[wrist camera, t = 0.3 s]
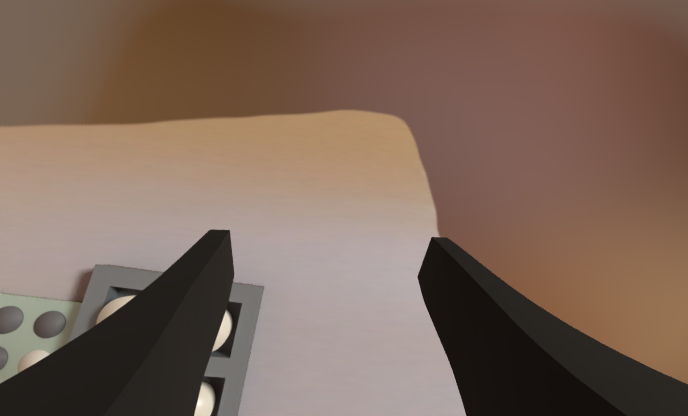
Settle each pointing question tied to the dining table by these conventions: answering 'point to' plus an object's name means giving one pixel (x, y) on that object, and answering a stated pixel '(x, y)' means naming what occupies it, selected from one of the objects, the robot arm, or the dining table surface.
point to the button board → (224, 362)
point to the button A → (113, 307)
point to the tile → (32, 330)
